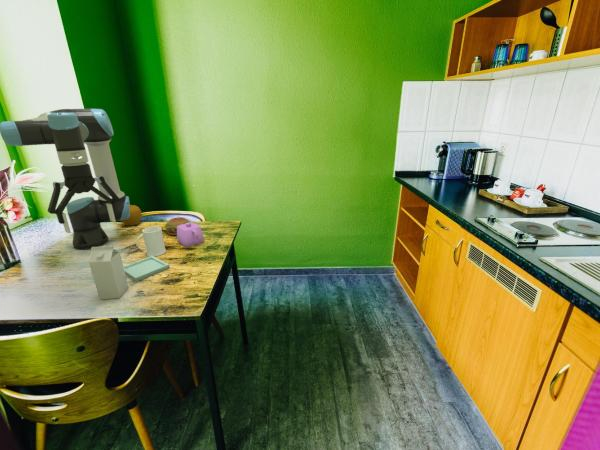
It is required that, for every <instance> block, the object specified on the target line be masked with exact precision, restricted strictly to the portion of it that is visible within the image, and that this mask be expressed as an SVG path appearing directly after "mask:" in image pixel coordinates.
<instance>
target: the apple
mask: <svg viewBox="0 0 600 450" xmlns="http://www.w3.org/2000/svg"><path fill="white" fill-rule="evenodd" d="M141 218H142V210H141V208H140V207H139V206H137V205H135V204H134V205H132V204H130V217H129V218H128V219H124V220H121V221H120V222H122V224H124V225H126V226H136V225H138V224H139V223H140V221H141Z"/></svg>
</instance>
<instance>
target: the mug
mask: <svg viewBox="0 0 600 450" xmlns="http://www.w3.org/2000/svg"><path fill="white" fill-rule="evenodd" d="M141 232H142V233H141V234H140V235H138V237H137V238H136V241H135V244H136V247H137V248H138V249H139V250H141V251H145V252H146V257H150V256H154V257H159V256H161V255H164V254H166V252H167V249H166V246H165V240H164V235H163V231H162V226H158V225H156V226H155V225H154V226H149V227H145V228H143V229H142V230H141ZM141 237H142V238H143V241H144V247H143V248H142V247H140V246H139V243H138V241H139V239H140V238H141Z"/></svg>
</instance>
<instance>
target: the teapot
mask: <svg viewBox="0 0 600 450" xmlns="http://www.w3.org/2000/svg"><path fill="white" fill-rule="evenodd" d="M176 236H177V237H176V238H177V240H178V242H179V244H181V245H182V246H184V247H186V248H190V247H193V246H197V245H199V244H203V243H204V234H203V231H202V228H201V226H200V225H199V224H197V223H195V222H192V221H191V223H186V224H180V225H179V226H177V235H176Z"/></svg>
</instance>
